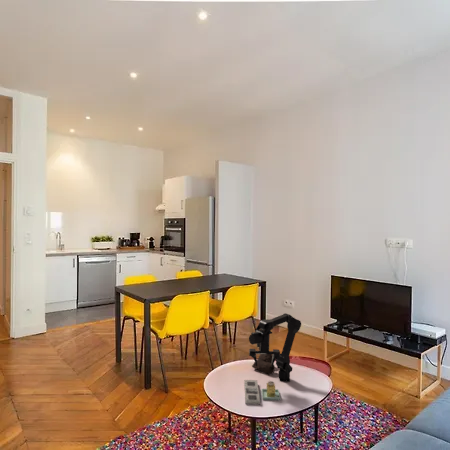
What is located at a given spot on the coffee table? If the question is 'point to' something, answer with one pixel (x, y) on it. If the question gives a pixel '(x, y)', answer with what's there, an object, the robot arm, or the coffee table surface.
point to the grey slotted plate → (252, 387)
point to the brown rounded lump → (264, 363)
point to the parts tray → (264, 397)
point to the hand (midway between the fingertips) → (264, 366)
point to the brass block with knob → (270, 389)
